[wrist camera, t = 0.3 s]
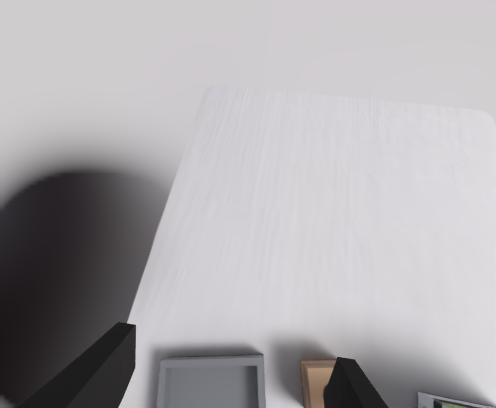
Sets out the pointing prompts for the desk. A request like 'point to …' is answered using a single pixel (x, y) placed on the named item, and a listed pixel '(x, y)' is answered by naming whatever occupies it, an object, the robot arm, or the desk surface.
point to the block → (315, 381)
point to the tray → (212, 382)
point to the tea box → (444, 402)
